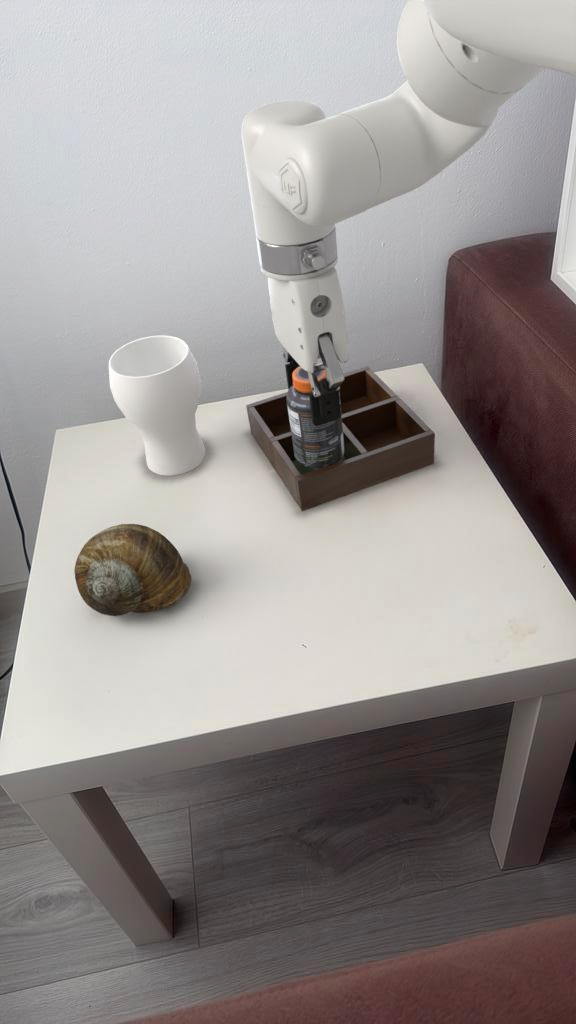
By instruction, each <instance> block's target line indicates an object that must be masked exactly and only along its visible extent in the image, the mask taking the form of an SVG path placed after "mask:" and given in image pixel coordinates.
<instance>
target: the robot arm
mask: <svg viewBox="0 0 576 1024" xmlns="http://www.w3.org/2000/svg"><path fill="white" fill-rule="evenodd" d="M396 48H397V55H398V56H397V57H398V60H399V63H400V67H401V69H402V73H403V75H404V77H405V79H406V81H404V82H403V84H402V85H400V86H399V87H398V88H397V89H396V90H395V91H394V92H392V93H391V94H389V95H387V96H385V97H382V98H380V99H377V100H374V101H371V102H367V103H365V104H362V105H359V106H357V107H353V108H351V109H348V110H345V111H342V112H339V113H337V114H333V116H329V117H327V114H326V112H325V110H324V108H322V106H321V105H319V104H317V103H316V102H314V101H311V100H307V99H295V98H294V99H293V98H292V99H282V100H275V101H271V102H268V103H264V104H261V105H259V106H257V107H254V108H253V109H251V110H249V111H248V113H247V114H246V115H245V116H244V118H243V120H242V124H241V129H240V131H241V132H240V134H241V142H242V151H243V157H244V164H245V171H246V177H247V178H246V179H247V185H248V191H249V197H250V204H251V211H252V217H253V224H254V231H255V239H256V240H255V241H256V247H257V254H258V260H259V268H260V272H261V273H262V274H263V275H264V276H266V277H267V286H268V297H269V307H270V313H271V315H270V316H271V320H272V325H273V331H274V334H275V337H276V338H277V340H278V342H279V343H280V345H282V357H283V360H284V362H285V364H284V367H285V374H286V375H285V376H286V383H287V391H288V390H289V389H290V387H291V386H292V385H293V378H292V374H293V371H294V370H295V369H296V368H298V367H299V366H301V367H302V368H303V369H304V370H305V371H307V372H308V377H309V381H310V385H311V389H312V393H309V399H310V407H311V416H312V423H313V424H314V425H315V426H319V425H322V424H325V423H328V422H331V421H334V420H337V419H339V418H340V417H341V410H340V397H339V390H340V385H341V383H342V382H343V381H344V375H343V374H344V372H343V369H342V367H341V363H344V364H345V363H348V362H349V359H350V346H349V338H348V329H347V328H348V327H347V319H346V312H345V305H344V299H343V294H342V288H341V284H340V280H339V275H338V272H337V269H336V265H337V264H338V261H339V259H338V258H339V256H338V244H337V243H338V242H337V230H336V224H338V223H341V222H342V221H345V220H347V219H350V218H352V217H354V216H357V215H359V214H361V213H365V212H366V211H367V210H370V209H372V208H374V207H377V206H379V205H381V204H384V203H387V202H389V201H391V200H393V199H395V198H398V197H400V196H403V195H405V194H407V193H410V192H412V191H415V190H416V189H418V188H420V187H421V186H423V185H425V184H426V183H428V182H429V181H431V180H432V179H433V178H435V177H436V176H438V175H439V174H440V173H442V172H443V171H444V170H445V169H446V168H448V167H449V166H450V165H452V163H454V162H455V161H456V160H458V159H459V158H461V156H463V155H465V153H467V152H468V151H469V150H471V148H472V147H474V146H475V145H476V144H477V143H478V142H479V141H480V140H481V139H482V138H483V137H484V136H485V135H486V133H487V132H488V131H489V129H490V127H491V126H492V124H493V122H494V120H495V119H496V117H497V115H498V112H499V108H501V107H502V106H503V105H504V104H505V103H506V102H507V101H508V100H510V99H511V98H512V97H514V95H516V94H517V93H518V92H520V91H521V90H522V89H523V88H524V87H526V85H527V84H529V83H531V81H532V80H534V79H535V78H536V77H537V76H538V75H540V74H541V73H542V72H543V71H545V70H546V69H547V70H552V71H556V72H559V73H563V74H568V75H572V76H576V0H407V2H406V4H405V6H404V7H403V10H402V11H401V15H400V18H399V21H398V25H397V29H396ZM319 359H321V362H318V363H317V361H318V360H319ZM314 363H317V364H315V365H314ZM322 370H325V371H326V377H325V378H324V379H322V380H321V381H320V382H319V383H318V379H317V375H316V372H319V371H322Z"/></svg>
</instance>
